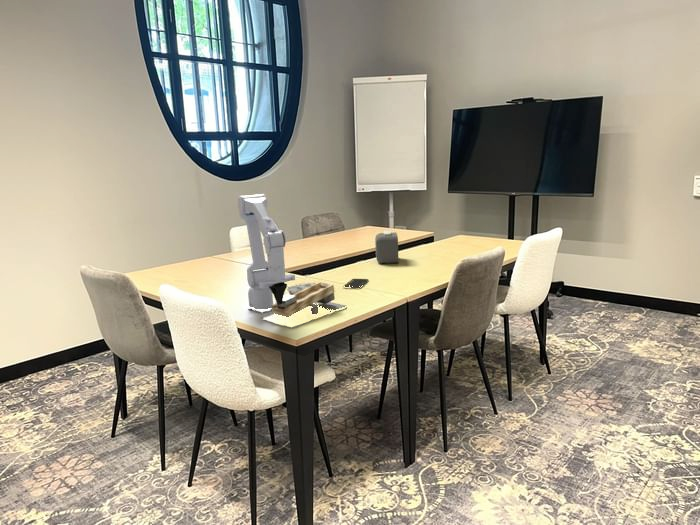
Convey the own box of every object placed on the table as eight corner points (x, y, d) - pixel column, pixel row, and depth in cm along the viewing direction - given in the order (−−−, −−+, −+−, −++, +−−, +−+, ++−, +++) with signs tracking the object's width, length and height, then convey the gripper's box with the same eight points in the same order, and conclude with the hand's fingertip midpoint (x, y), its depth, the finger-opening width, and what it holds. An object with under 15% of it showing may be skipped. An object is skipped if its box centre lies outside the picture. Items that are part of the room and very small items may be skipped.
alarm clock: (398, 264, 271) (397, 234, 268) (376, 265, 272) (375, 235, 268) (396, 257, 287) (395, 229, 284) (375, 258, 288) (374, 230, 284)
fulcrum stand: (291, 328, 179) (290, 319, 178) (261, 320, 190) (261, 311, 189) (346, 308, 199) (346, 299, 198) (317, 301, 210) (317, 293, 209)
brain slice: (309, 286, 235) (309, 280, 234) (338, 291, 224) (337, 285, 223) (277, 297, 220) (276, 290, 219) (306, 303, 209) (305, 296, 209)
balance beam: (293, 325, 182) (290, 310, 180) (271, 319, 190) (267, 304, 188) (339, 300, 198) (337, 285, 197) (317, 295, 206) (314, 281, 205)
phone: (342, 286, 228) (352, 278, 242) (342, 289, 228) (352, 280, 242) (360, 287, 225) (369, 278, 239) (360, 290, 226) (369, 281, 240)
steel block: (287, 311, 184) (285, 301, 183) (277, 309, 187) (275, 298, 186) (297, 306, 187) (295, 295, 186) (288, 304, 191) (286, 293, 189)
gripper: (267, 271, 174) (270, 310, 176) (299, 263, 184) (302, 300, 187) (254, 269, 178) (257, 307, 181) (286, 261, 189) (289, 297, 191)
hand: (279, 304), depth 184 cm, fingers closed
